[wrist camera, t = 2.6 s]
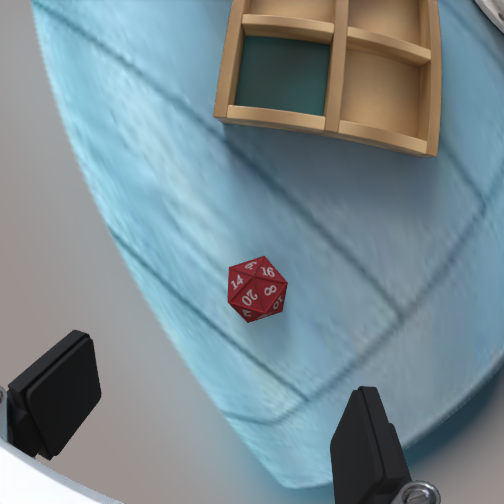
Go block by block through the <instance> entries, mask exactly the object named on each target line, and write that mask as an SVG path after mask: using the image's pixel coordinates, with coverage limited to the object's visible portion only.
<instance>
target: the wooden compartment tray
mask: <svg viewBox="0 0 504 504" xmlns="http://www.w3.org/2000/svg"><path fill="white" fill-rule="evenodd" d="M441 92H442V57H441V35H440V21H439V11H438V2H437V0H233V2H232V7H231V12H230V17H229V22H228V28H227V33H226V39H225V44H224V50H223V56H222V62H221V68H220V74H219V80H218V86H217V93H216V100H215V106H214V113H213V117H214V118H216V119H217V120H219V121H220V122H222V123H226V124H237V125H247V126H257V127H266V128H274V129H281V130H289V131H296V132H302V133H309V134H315V135H321V136H326V137H332V138H337V139H342V140H347V141H352V142H357V143H362V144H366V145H371V146H375V147H380V148H384V149H388V150H392V151H396V152H400V153H404V154H408V155H411V156H415V157H419V158H428V157H437V151H438V141H439V130H440V115H441Z"/></svg>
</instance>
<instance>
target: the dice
mask: <svg viewBox="0 0 504 504" xmlns="http://www.w3.org/2000/svg"><path fill="white" fill-rule="evenodd" d="M287 284H288V282H287V281H286V280H285V279H284V278H283V277H282V276H281V274H280V273H279V272H278V271H277V270H276V269H275V267H274V266H273V265H272V264H271V263H270V262H269V261H268V259H267V258H266V257H265V256H263V257H260V258H257V259H253V260H250V261H247V262H244V263H241V264H238V265H235V266H232V267H229V279H228V303H229V304H230V305H231V306H232V307H233V308H234V309H235V310H236V311H237V312H238V313H239V314H240V315H241V316H242V317H243V319H244V320H245V321H246V322H247V323H249V322H252V321H255V320H258V319H261V318H264V317H267V316H270V315H273V314H276V313H279V312H282V310H283V305H284V300H285V295H286V289H287Z"/></svg>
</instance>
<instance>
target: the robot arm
mask: <svg viewBox="0 0 504 504" xmlns="http://www.w3.org/2000/svg"><path fill="white" fill-rule="evenodd" d="M475 2H476V3H477V4H478V5H479V7H480V8H481V9H482V11H483V12H484V13H485V14H486V15H487V17H488V18H489V19H490V20H491V21H492V22H493V23H494V24H495V25H496V26H497V27H498V28H499V29H500V30H501V31H502V32H503V33H504V0H475ZM8 387H9V390H8V391H7V392H6V391H5V389H4V388H2V387H1V386H0V504H125V503H122V502H120V501H117V500H115V499H112V498H110V497H107V496H105V495H103V494H101V493H98V492H96V491H94V490H92V489H89V488H87V487H85V486H83V485H81V484H79V483H77V482H75V481H73V480H71V479H69V478H67V477H65V476H63V475H61V474H59V473H57V472H56V471H54V470H52V469H50V468H48V467H47V466H45V465H43V464H42V463H39V462H38V461H36V460H35V456H36V455H37V453H38V454H39V455H41V456H42V457H44V458H46V459H47V460H49V461H50V460H51V459H52V457H53V456H57V455H58V454H59V453H60V452H61V451H62V449H63V448H64V447H65V445H66V444H67V443H68V441H69V440H70V439H71V437H72V436H73V435H74V433H75V432H76V430H77V429H78V428H79V427H80V425H81V424H82V422H83V421H84V420H85V419H86V418H87V416H88V415H89V414H90V412H91V411H92V410H93V408H94V407H95V406H96V404H97V403H98V402H99V400H100V398H101V388H100V383H99V377H98V371H97V365H96V358H95V352H94V345H93V340H92V339H90V336H89V334H87V333H84V332H81V331H78V330H73V331H72V332H70V333H69V334H68V335H67V336H66V337H64V338H63V339H62V340H61V341H60V342H58V343H57V344H56V345H55V346H53V347H52V348H51V349H50V350H49V351H47V352H46V353H45V354H44V355H43V356H41V357H40V358H39V359H38V360H37V361H35V362H34V363H33V364H32V365H31V366H30V367H28V368H27V369H26V370H25V371H24V372H23V373H21V374H20V375H19V376H18V377H17V378H16V379H14V380H13V381H12V382H11V383H10V384H9V385H8ZM330 453H331V463H332V473H333V484H334V496H335V504H440V502H441V497H440V494H439V491H438V490H437V489H436V487H435V486H433V485H432V484H430V483H429V482H425V481H418V480H416V481H412V480H411V476H410V473H409V470H408V467H407V463H406V460H405V457H404V454H403V451H402V448H401V445H400V442H399V439H398V436H397V433H396V430H395V427H394V425H393V424H392V423H389V422H388V419H387V416H386V413H385V410H384V407H383V404H382V401H381V399H380V396H379V393H378V390H377V388H376V387H365V386H360V387H359V388H358V390H353V392H352V394H351V396H350V399H349V401H348V404H347V406H346V408H345V411H344V413H343V415H342V418H341V420H340V422H339V424H338V427H337V429H336V431H335V433H334V435H333V438H332V440H331V444H330Z"/></svg>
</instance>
